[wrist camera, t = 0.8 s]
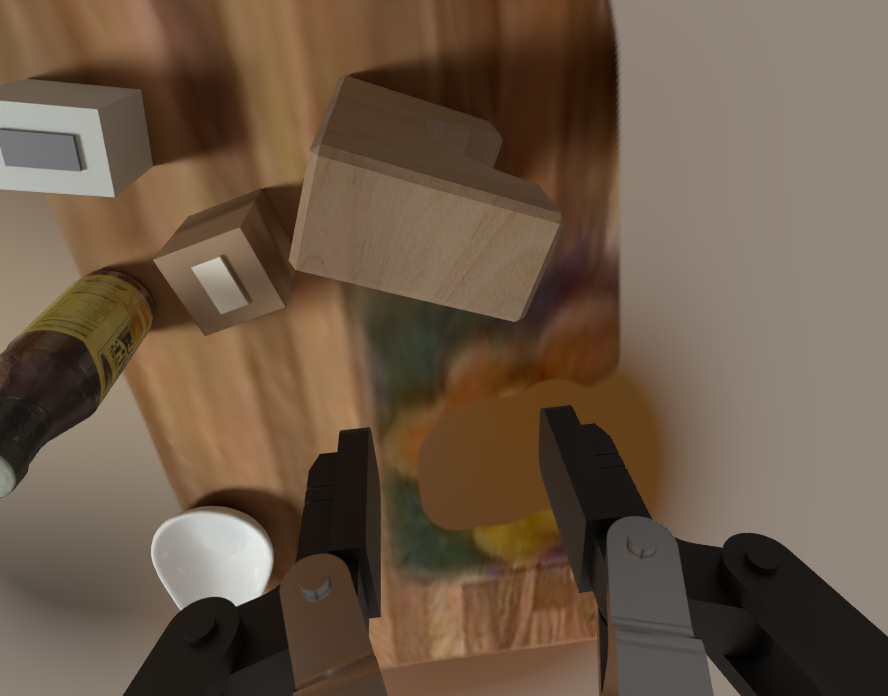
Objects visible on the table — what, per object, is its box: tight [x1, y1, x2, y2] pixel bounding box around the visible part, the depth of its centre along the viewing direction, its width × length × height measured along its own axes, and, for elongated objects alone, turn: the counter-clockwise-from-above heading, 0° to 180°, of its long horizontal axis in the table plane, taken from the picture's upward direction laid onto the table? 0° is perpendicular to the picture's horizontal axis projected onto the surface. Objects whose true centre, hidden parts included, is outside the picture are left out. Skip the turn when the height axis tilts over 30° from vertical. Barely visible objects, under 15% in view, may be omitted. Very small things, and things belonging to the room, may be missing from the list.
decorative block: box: [289, 75, 565, 322], centre depth 33 cm, size 11×6×20 cm, turn 72°
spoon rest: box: [151, 506, 274, 610], centre depth 61 cm, size 24×12×7 cm, turn 179°
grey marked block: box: [0, 79, 153, 197], centre depth 36 cm, size 5×7×7 cm
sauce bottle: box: [0, 270, 154, 498], centre depth 38 cm, size 7×6×20 cm
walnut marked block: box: [153, 188, 296, 336], centre depth 41 cm, size 6×6×8 cm
